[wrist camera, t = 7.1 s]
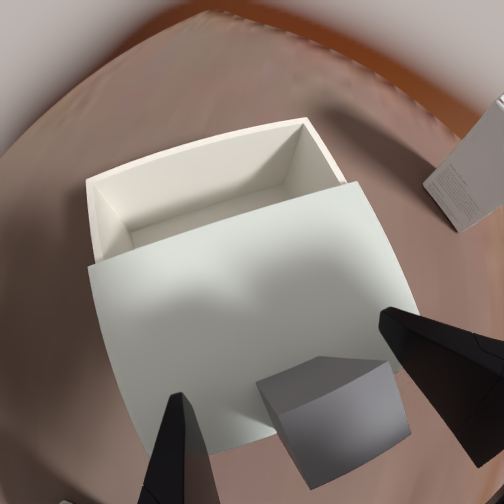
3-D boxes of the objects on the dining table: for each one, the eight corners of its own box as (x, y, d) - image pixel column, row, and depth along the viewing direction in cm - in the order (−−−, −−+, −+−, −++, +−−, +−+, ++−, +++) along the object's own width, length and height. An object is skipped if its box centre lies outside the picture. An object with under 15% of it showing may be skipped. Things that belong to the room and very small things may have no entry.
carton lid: (425, 349, 10) (518, 337, 5) (156, 463, 8) (107, 533, 3) (354, 185, 13) (406, 108, 8) (91, 269, 11) (13, 215, 5)
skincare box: (472, 214, 22) (552, 152, 10) (457, 237, 21) (551, 172, 9) (436, 166, 23) (505, 90, 12) (417, 184, 22) (496, 97, 11)
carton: (331, 282, 19) (380, 247, 12) (157, 345, 16) (114, 343, 10) (285, 182, 21) (306, 117, 14) (127, 232, 19) (85, 179, 12)
